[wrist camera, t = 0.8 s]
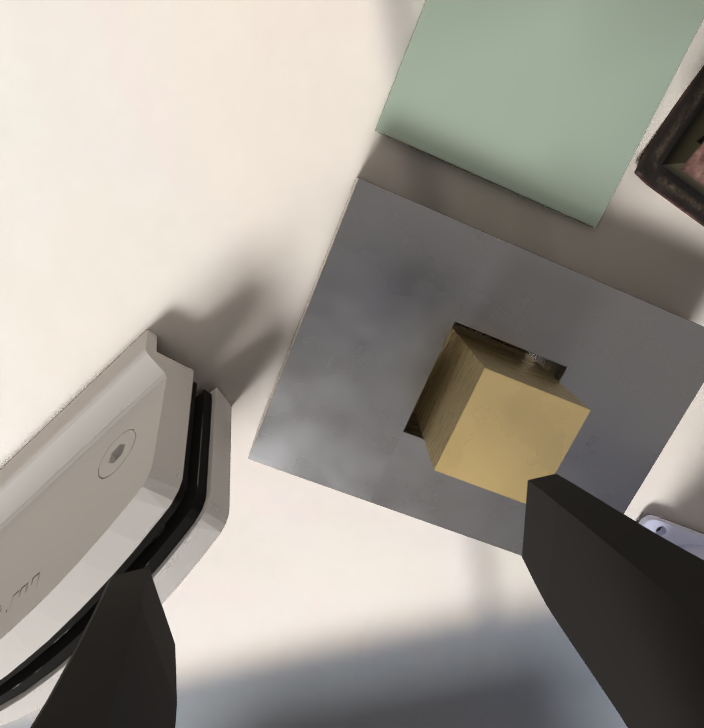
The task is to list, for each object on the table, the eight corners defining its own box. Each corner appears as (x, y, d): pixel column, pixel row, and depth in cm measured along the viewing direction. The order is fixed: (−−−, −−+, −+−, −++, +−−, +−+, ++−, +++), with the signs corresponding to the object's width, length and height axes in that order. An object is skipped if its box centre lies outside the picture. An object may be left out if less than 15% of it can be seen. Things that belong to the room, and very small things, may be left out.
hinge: (153, 323, 26) (144, 476, 18) (232, 382, 28) (256, 541, 20) (-83, 548, 29) (-185, 769, 20) (8, 583, 31) (-50, 793, 23)
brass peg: (526, 352, 27) (590, 409, 20) (488, 429, 28) (535, 507, 21) (446, 320, 26) (484, 367, 19) (410, 399, 27) (434, 470, 20)
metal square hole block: (687, 321, 26) (730, 338, 23) (560, 539, 29) (584, 577, 27) (356, 178, 24) (358, 177, 21) (257, 430, 27) (248, 458, 24)
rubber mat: (719, -23, 22) (726, -27, 22) (591, 227, 25) (595, 227, 25) (484, -148, 21) (486, -154, 21) (375, 130, 24) (375, 129, 23)
